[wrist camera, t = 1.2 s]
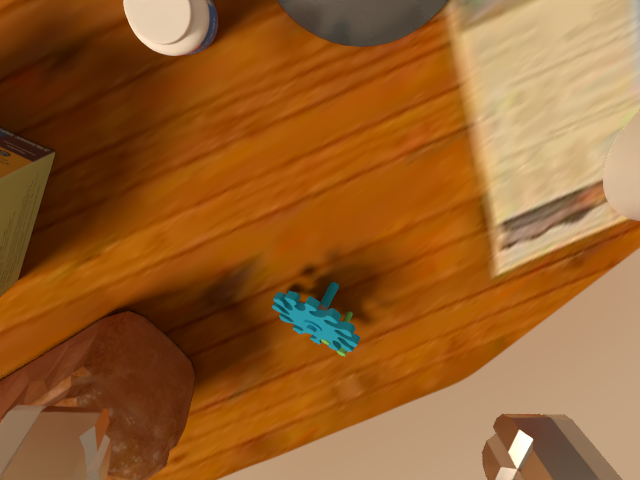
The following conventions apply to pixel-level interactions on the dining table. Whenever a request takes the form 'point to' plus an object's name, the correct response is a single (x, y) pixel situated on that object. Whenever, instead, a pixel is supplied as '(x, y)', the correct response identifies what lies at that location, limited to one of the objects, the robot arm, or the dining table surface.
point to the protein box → (19, 199)
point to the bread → (115, 389)
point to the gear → (318, 319)
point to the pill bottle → (173, 24)
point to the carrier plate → (361, 18)
